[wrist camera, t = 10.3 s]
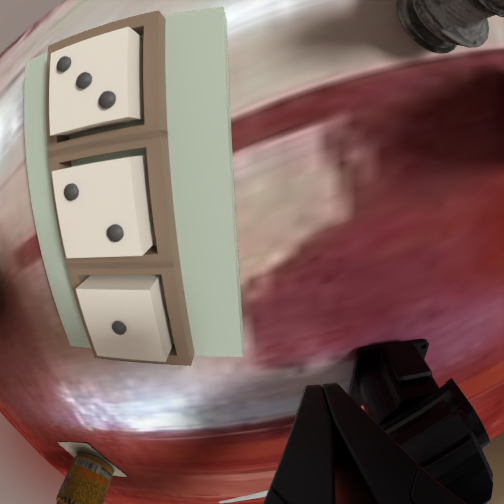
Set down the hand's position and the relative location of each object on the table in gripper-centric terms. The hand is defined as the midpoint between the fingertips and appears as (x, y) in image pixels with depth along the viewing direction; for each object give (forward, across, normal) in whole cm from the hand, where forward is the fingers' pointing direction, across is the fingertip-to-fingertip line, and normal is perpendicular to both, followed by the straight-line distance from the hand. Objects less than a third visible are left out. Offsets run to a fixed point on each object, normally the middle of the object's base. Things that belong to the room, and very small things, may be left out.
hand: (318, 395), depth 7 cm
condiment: (+13, +26, +31) cm, 43 cm away
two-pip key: (+11, +10, -4) cm, 15 cm away
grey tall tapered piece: (+13, -11, -16) cm, 23 cm away
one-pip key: (+11, +10, +4) cm, 15 cm away
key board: (+13, +10, -4) cm, 17 cm away
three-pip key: (+11, +10, -11) cm, 18 cm away
